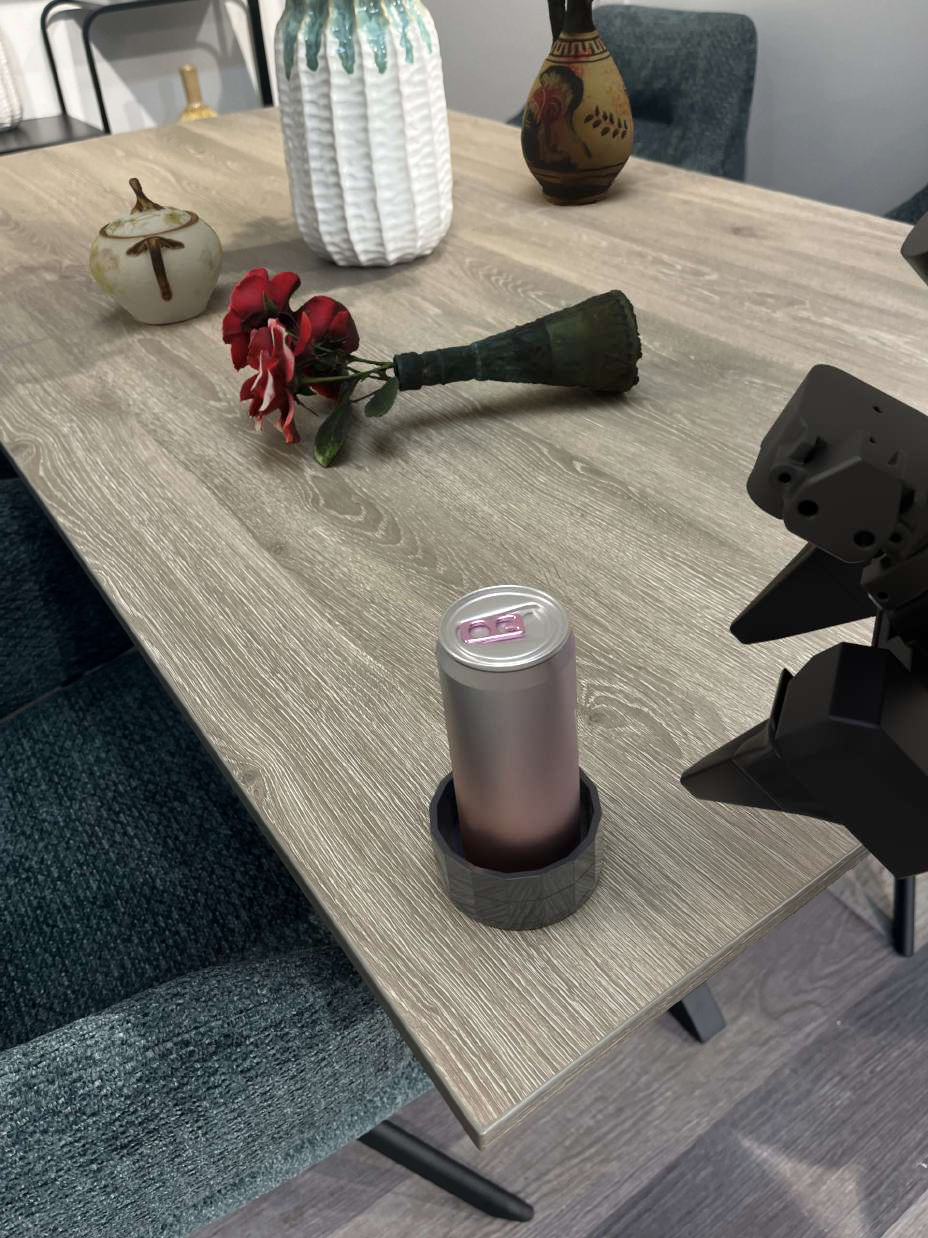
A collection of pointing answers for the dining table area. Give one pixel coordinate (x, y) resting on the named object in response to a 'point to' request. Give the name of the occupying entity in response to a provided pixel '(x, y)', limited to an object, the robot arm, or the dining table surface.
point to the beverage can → (512, 725)
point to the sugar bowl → (157, 261)
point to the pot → (519, 893)
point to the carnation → (410, 355)
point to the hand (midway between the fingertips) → (714, 705)
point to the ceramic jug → (576, 112)
